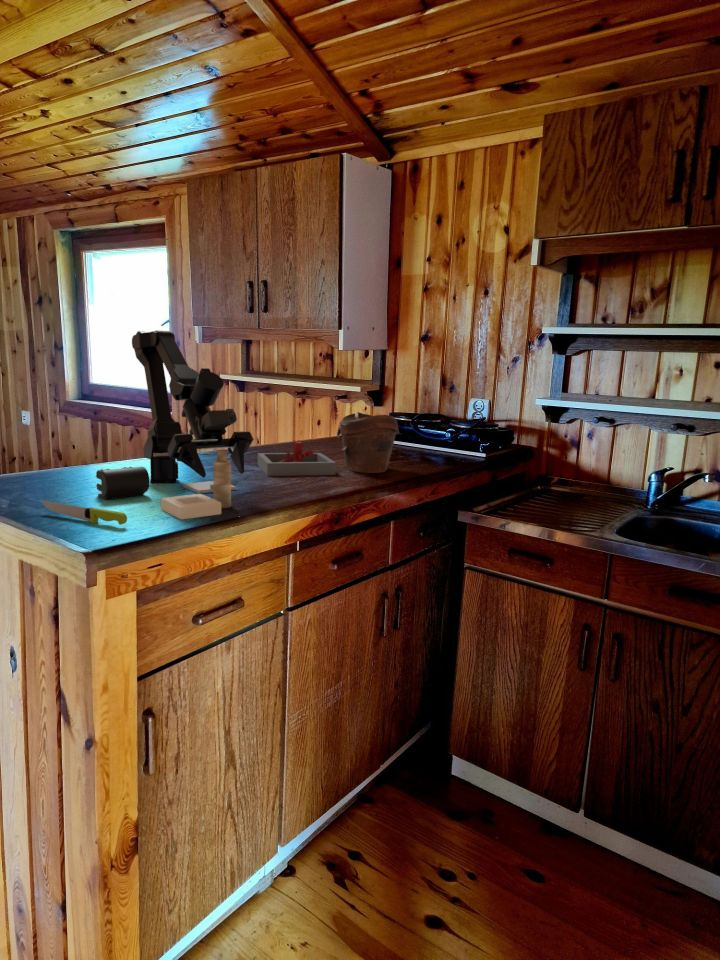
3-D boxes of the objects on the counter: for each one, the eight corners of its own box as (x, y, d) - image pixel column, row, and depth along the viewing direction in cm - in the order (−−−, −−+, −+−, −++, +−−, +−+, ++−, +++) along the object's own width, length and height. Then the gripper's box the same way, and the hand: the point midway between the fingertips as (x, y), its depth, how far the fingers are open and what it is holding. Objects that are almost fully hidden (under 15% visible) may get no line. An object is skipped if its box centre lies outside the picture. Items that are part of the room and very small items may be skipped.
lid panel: (183, 487, 158) (182, 480, 157) (219, 483, 164) (219, 476, 164) (198, 493, 151) (198, 486, 150) (236, 489, 157) (236, 482, 157)
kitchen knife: (38, 514, 127) (37, 500, 126) (43, 513, 128) (43, 498, 128) (123, 529, 118) (122, 514, 118) (128, 528, 120) (127, 513, 119)
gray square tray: (267, 475, 177) (267, 463, 176) (257, 464, 195) (257, 453, 194) (335, 474, 183) (336, 462, 182) (320, 464, 201) (320, 452, 200)
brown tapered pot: (350, 461, 207) (352, 407, 203) (406, 468, 198) (409, 412, 195) (323, 470, 191) (325, 411, 187) (383, 478, 183) (386, 416, 179)
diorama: (282, 463, 195) (282, 436, 194) (318, 466, 192) (318, 439, 190) (267, 468, 185) (267, 440, 184) (305, 472, 182) (305, 443, 180)
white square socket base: (161, 509, 134) (161, 498, 134) (200, 504, 140) (200, 493, 139) (180, 519, 127) (180, 507, 126) (221, 514, 132) (221, 502, 132)
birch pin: (214, 508, 137) (214, 451, 135) (212, 504, 141) (212, 449, 138) (231, 507, 138) (231, 451, 136) (230, 503, 142) (230, 449, 139)
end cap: (107, 502, 139) (106, 472, 138) (95, 496, 144) (93, 467, 143) (150, 497, 146) (149, 468, 144) (137, 491, 151) (136, 464, 149)
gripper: (171, 396, 133) (195, 455, 126) (249, 396, 144) (274, 449, 138) (158, 429, 140) (179, 486, 134) (233, 427, 152) (256, 479, 145)
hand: (224, 474), depth 137 cm, fingers open, 9 cm apart
